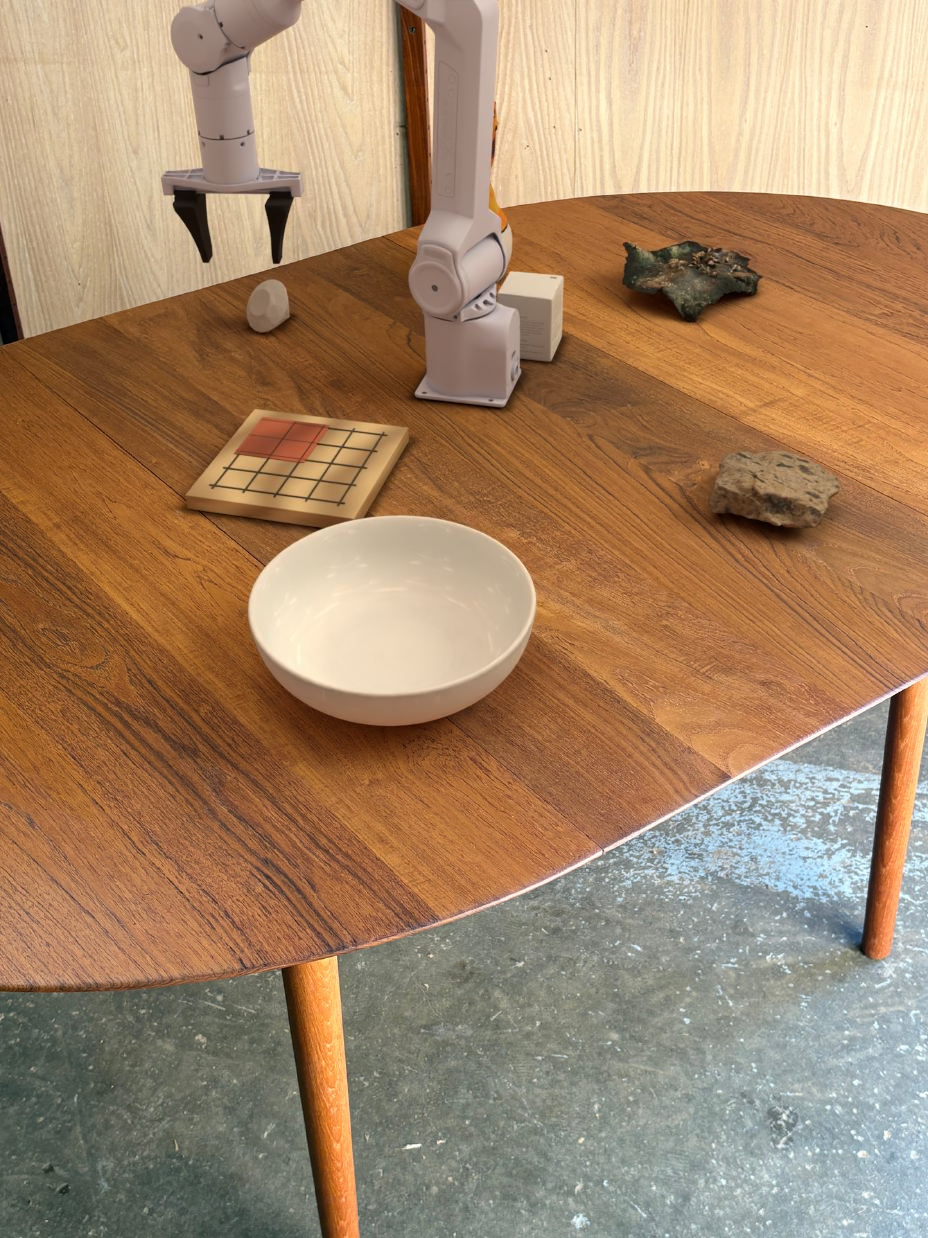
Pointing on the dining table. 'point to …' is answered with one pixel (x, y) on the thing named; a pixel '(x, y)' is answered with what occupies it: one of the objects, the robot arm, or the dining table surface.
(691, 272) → the decorative rock
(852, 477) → the dining table surface
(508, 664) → the serving bowl
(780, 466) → the rock
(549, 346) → the product box
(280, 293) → the gemstone
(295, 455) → the board
